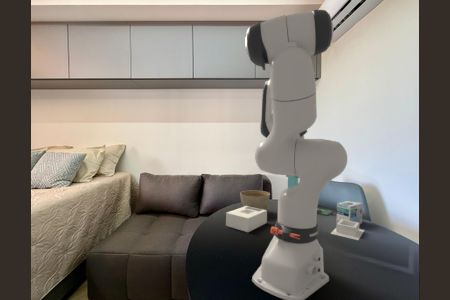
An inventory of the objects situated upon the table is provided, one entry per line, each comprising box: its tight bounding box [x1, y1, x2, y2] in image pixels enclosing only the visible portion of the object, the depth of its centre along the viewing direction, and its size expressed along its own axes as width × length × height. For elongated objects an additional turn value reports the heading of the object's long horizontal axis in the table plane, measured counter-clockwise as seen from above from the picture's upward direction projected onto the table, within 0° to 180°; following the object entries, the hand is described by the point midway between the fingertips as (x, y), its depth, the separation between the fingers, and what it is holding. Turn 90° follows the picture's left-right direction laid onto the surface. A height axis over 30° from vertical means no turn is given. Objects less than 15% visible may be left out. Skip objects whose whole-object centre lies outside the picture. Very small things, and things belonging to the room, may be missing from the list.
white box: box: [225, 206, 268, 233], centre depth 108 cm, size 16×12×6 cm
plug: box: [287, 175, 299, 189], centre depth 102 cm, size 4×3×12 cm
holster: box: [330, 219, 365, 241], centre depth 96 cm, size 14×10×5 cm
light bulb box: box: [336, 200, 364, 225], centre depth 108 cm, size 11×7×11 cm, turn 123°
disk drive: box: [317, 207, 334, 217], centre depth 126 cm, size 10×3×15 cm
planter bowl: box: [239, 189, 271, 210], centre depth 126 cm, size 16×16×11 cm
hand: (292, 177), depth 102 cm, fingers closed on plug, 3 cm apart
